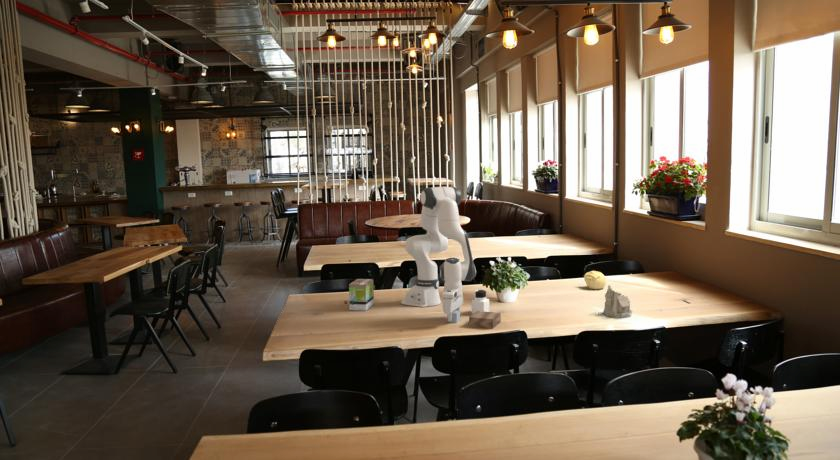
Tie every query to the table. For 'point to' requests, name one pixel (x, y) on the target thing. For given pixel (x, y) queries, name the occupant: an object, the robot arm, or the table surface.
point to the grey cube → (455, 316)
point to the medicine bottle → (480, 302)
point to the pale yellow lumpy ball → (595, 280)
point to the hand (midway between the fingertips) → (453, 317)
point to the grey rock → (617, 304)
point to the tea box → (361, 294)
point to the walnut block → (484, 319)
